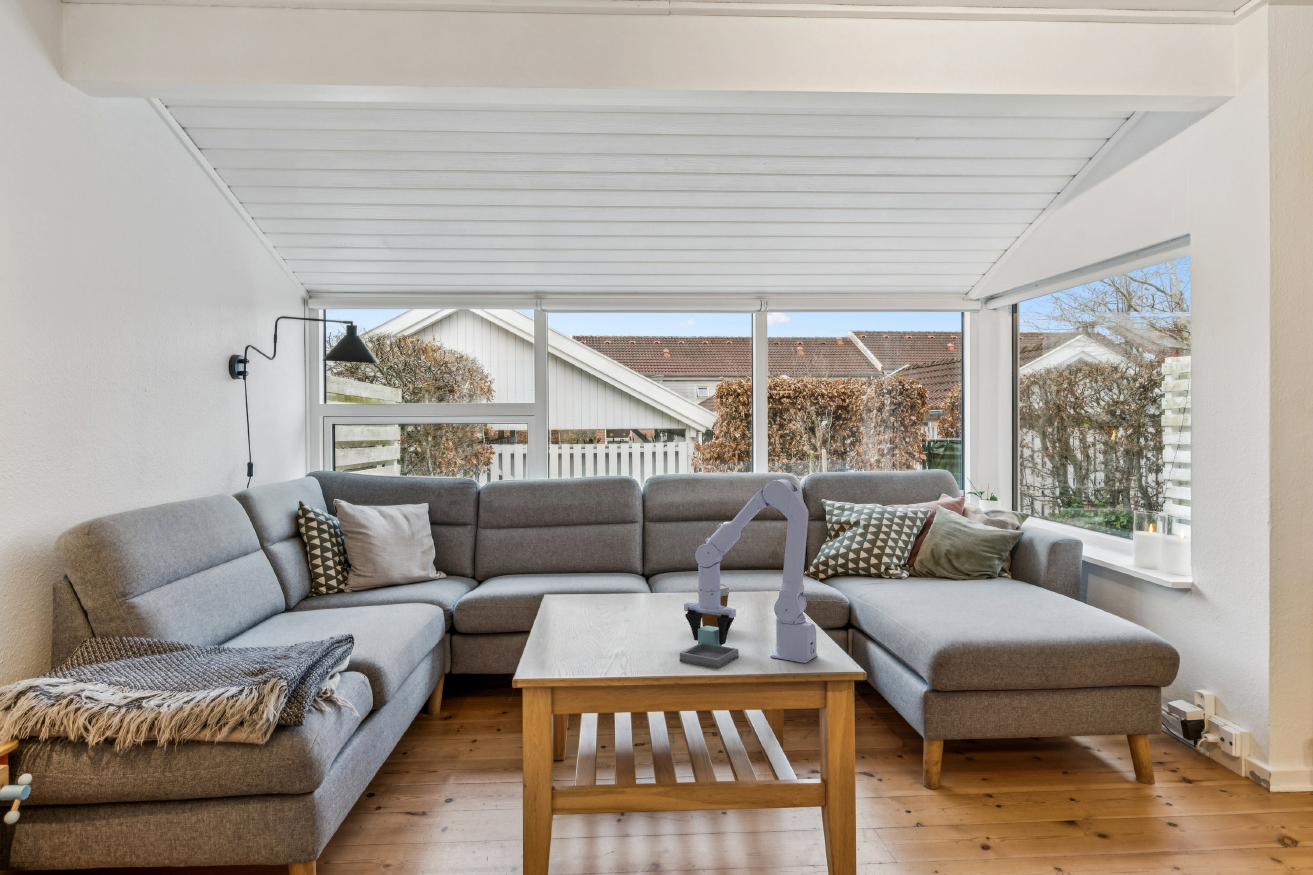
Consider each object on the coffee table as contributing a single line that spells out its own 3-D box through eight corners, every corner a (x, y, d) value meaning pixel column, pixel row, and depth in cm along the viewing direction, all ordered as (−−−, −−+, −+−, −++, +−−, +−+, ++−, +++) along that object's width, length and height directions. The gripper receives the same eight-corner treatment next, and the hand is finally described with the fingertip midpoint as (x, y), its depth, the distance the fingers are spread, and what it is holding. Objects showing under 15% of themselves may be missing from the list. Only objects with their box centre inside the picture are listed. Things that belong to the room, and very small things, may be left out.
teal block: (721, 646, 188) (721, 627, 188) (713, 651, 184) (712, 631, 184) (706, 644, 190) (706, 625, 190) (698, 648, 187) (697, 629, 187)
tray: (738, 657, 178) (738, 648, 178) (717, 668, 170) (717, 659, 170) (701, 650, 184) (701, 642, 184) (679, 661, 176) (679, 652, 176)
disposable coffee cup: (728, 632, 202) (728, 589, 202) (694, 631, 203) (694, 588, 204) (731, 624, 211) (731, 583, 211) (699, 622, 213) (699, 582, 213)
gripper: (677, 589, 188) (678, 640, 188) (726, 595, 180) (726, 649, 180) (691, 584, 194) (692, 634, 194) (739, 590, 186) (739, 642, 186)
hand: (709, 641), depth 187 cm, fingers open, 7 cm apart
